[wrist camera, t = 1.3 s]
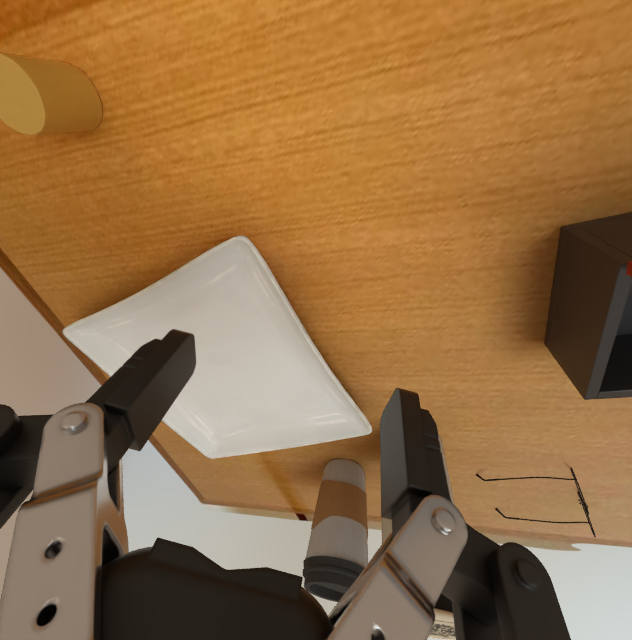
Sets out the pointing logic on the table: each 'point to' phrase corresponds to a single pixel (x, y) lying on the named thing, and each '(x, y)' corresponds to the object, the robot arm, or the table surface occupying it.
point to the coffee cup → (338, 532)
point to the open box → (593, 307)
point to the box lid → (629, 268)
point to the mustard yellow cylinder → (46, 96)
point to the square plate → (230, 356)
